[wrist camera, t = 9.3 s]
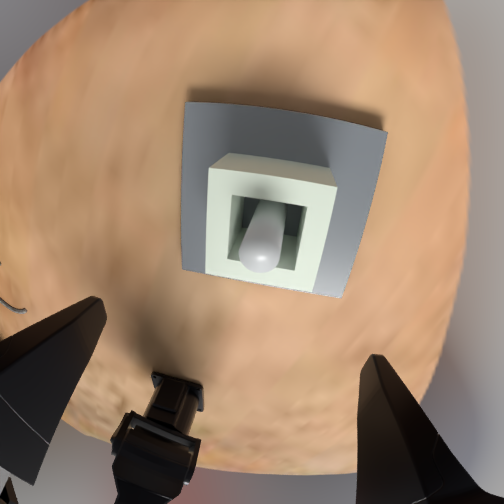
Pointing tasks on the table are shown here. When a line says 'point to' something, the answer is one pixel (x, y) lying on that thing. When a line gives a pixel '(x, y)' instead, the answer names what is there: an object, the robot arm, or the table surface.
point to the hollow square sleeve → (274, 189)
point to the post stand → (271, 212)
